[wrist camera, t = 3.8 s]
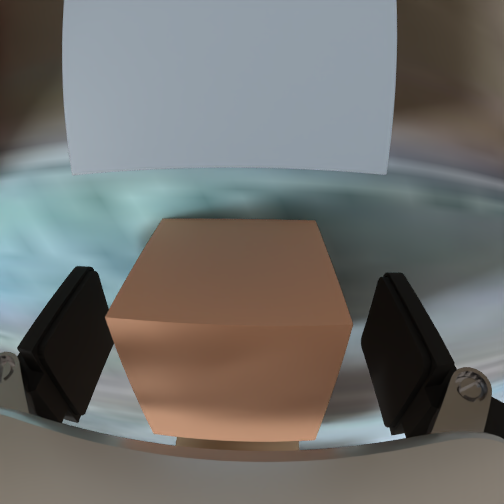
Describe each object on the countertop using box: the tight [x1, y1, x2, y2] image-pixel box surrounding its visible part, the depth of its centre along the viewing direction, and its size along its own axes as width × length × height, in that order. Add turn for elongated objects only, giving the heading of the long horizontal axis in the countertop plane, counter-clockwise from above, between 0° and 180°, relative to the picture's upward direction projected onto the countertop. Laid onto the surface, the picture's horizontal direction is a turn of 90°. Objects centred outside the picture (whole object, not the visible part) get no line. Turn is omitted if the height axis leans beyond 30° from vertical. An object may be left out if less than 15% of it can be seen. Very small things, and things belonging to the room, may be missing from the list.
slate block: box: [62, 0, 397, 175], centre depth 5 cm, size 5×5×5 cm
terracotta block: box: [105, 219, 353, 442], centre depth 9 cm, size 5×5×5 cm
